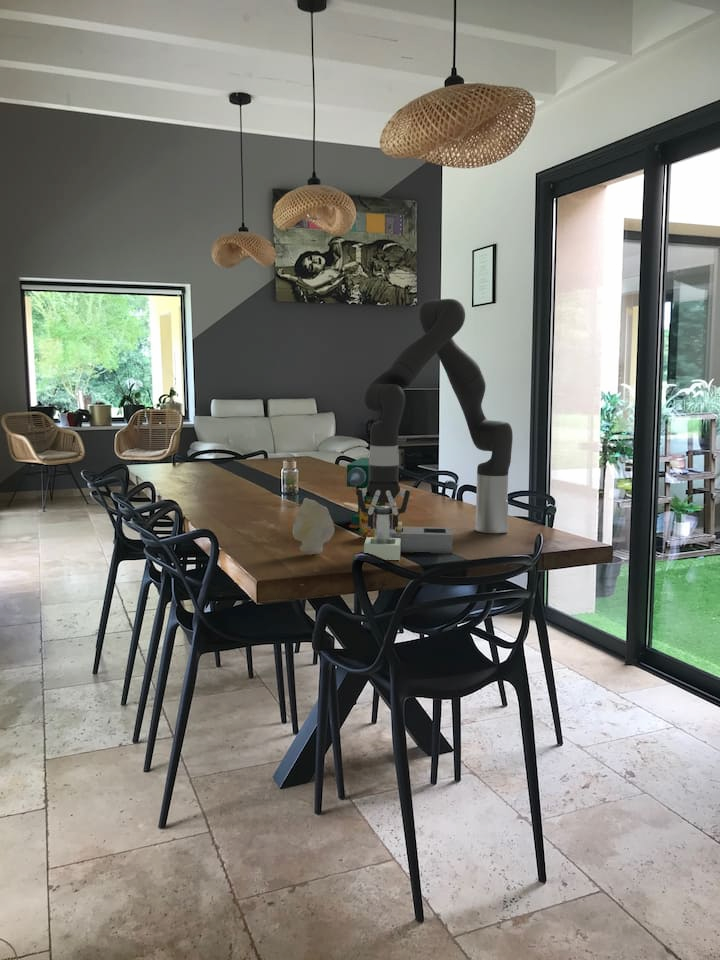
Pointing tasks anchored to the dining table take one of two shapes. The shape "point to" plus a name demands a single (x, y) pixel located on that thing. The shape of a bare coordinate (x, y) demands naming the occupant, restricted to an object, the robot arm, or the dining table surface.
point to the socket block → (425, 539)
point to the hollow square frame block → (383, 548)
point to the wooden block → (399, 527)
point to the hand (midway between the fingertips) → (383, 528)
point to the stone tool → (312, 526)
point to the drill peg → (383, 525)
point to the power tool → (358, 483)
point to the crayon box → (364, 527)
